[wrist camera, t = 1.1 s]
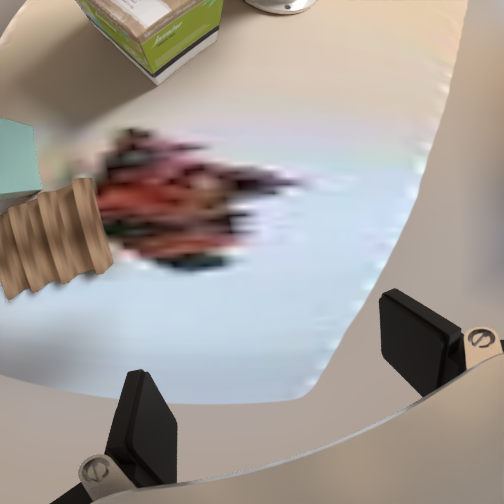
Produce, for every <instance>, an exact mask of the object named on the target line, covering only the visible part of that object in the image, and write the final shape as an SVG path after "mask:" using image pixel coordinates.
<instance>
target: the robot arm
mask: <svg viewBox="0 0 504 504" xmlns="http://www.w3.org/2000/svg"><path fill="white" fill-rule="evenodd" d="M244 1H246V2H247V3H248V4H250V5H252V6H254V7H256V8H258V9H261V10H263V11H267V12H271V13H277V14H296V13H300V12H303V11H306V10H307V9H309V8H311V7H312V6H313V5H314V4H315V2H316V1H317V0H244ZM379 309H380V329H381V352H382V355H383V357H384V359H385V360H386V361H387V362H388V363H389V364H390V365H391V366H392V367H393V368H394V369H395V370H396V371H397V372H398V373H400V375H401V376H402V377H403V378H404V379H405V380H406V381H407V382H408V383H409V384H410V385H411V386H412V387H413V388H414V389H415V390H416V391H417V392H418V393H419V394H420V395H421V396H422V397H423V398H421V399H420V400H418V401H416V402H415V403H413V404H411V405H409V406H408V407H406V408H404V409H402V410H400V411H398V412H397V413H395V414H393V415H391V416H389V417H387V418H385V419H383V420H381V421H379V422H377V423H375V424H373V425H371V426H369V427H366V428H364V429H362V430H360V431H358V432H356V433H353V434H351V435H349V436H346V437H344V438H342V439H339V440H337V441H334V442H332V443H330V444H327V445H324V446H322V447H319V448H316V449H314V450H311V451H308V452H305V453H302V454H299V455H296V456H293V457H290V458H287V459H284V460H281V461H277V462H274V463H270V464H267V465H264V466H260V467H256V468H252V469H248V470H244V471H240V472H235V473H231V474H226V475H221V476H216V477H211V478H206V479H200V480H194V481H188V482H182V483H177V422H176V419H175V417H174V416H173V414H172V412H171V411H170V409H169V407H168V406H167V404H166V402H165V400H164V399H163V397H162V395H161V393H160V392H159V390H158V388H157V386H156V385H155V383H154V381H153V379H152V377H151V375H150V374H149V372H144V371H143V370H142V369H139V370H135V371H130V372H128V373H127V376H126V379H125V383H124V386H123V389H122V392H121V396H120V399H119V403H118V406H117V409H116V411H115V415H114V418H113V422H112V426H111V430H110V433H109V437H108V441H107V445H106V449H105V453H104V454H97V455H93V456H91V457H89V458H87V459H86V460H85V461H84V462H83V463H82V464H81V466H80V468H79V471H78V476H79V479H80V481H81V482H80V483H79V484H77V485H76V486H75V487H73V488H72V489H70V490H69V491H68V492H66V493H65V494H63V495H62V496H60V497H59V498H58V499H56V500H55V501H53V502H52V503H50V504H504V340H500V339H499V336H498V334H497V332H496V331H494V330H493V329H491V328H489V327H482V326H481V327H480V326H479V327H474V328H472V329H470V330H468V331H467V332H466V333H465V335H464V334H462V333H461V328H460V327H458V326H456V325H455V324H453V323H452V322H450V321H449V320H447V319H445V318H444V317H442V316H440V315H439V314H437V313H435V312H434V311H432V310H431V309H429V308H428V307H426V306H424V305H423V304H421V303H419V302H418V301H416V300H414V299H413V298H411V297H409V296H408V295H406V294H404V293H403V292H401V291H399V290H398V289H395V288H394V289H391V290H389V291H387V292H384V293H383V294H382V297H381V298H380V299H379Z"/></svg>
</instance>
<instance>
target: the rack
mask: <svg viewBox="0 0 504 504" xmlns="http://www.w3.org/2000/svg"><path fill="white" fill-rule="evenodd" d="M71 182H72V185H69V186H67V187H64V188H62V189H59V190H57V191H50V192H42V193H40V194H37V199H35V200H33V201H30V202H28V203H25V204H19V205H14V206H11V207H9V208H8V212H6V213H4V214H2V215H0V280H1V283H2V286H3V288H4V291H5V294H6V296H7V299H8V300H9V299H12V298H13V297H15V296H16V295H17V294H19V293H20V292H22V291H23V290H24V289H28V288H31V290H32V292H37V291H39V290H40V289H41V288H42V287H44V286H45V285H46V284H48V283H49V282H52V281H55V280H59V279H60V280H61V282H62V284H66V283H69V282H70V281H71V280H72V279H73V278H74V277H76V276H77V275H78V274H80V273H84V272H87V271H91V270H95V271H96V274H97V275H99V274H103V273H104V272H105V271H106V270H107V269H108V268H109V267H110V266H111V265H112V264H113V263H114V262H113V258H112V255H111V252H110V249H109V245H108V242H107V238H106V235H105V231H104V228H103V224H102V220H101V216H100V213H99V209H98V205H97V200H96V196H95V192H94V187H93V183H92V178H77V179H74V180H72V181H71Z"/></svg>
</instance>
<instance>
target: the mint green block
mask: <svg viewBox="0 0 504 504" xmlns="http://www.w3.org/2000/svg"><path fill="white" fill-rule="evenodd" d="M40 190H42V185H41V179H40V174H39V168H38V162H37V155H36V148H35V141H34V132H33V126H29V125H26V124H22V123H19V122H15V121H11V120H8V119H4V118H0V200H5V199H12V198H19V197H26V196H28V195H31V194H33V193H35V192H37V191H40Z"/></svg>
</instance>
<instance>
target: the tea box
mask: <svg viewBox="0 0 504 504" xmlns="http://www.w3.org/2000/svg"><path fill="white" fill-rule="evenodd" d="M75 1H76V2H77V3H78V4H79V6H80V7H81V9H82V10H83V12H84V13H85V14H86V15H87V17H88V18H89V20H90V21H91V23H92V24H93V25H94V26H95V27H96V28H97V29H98V30H99V31H100V32H101V33H102V34H103V35H104V36H105V37H106V38H107V39H108V40H109V41H110V42H111V43H113V44H114V45H115V46H116V47H117V48H118V49H119V50H120V51H121V52H122V53H123V54H124V55H125V56H126V57H127V58H128V59H130V60H131V61H132V62H133V63H134V64H135V65H136V66H137V67H138V68H139V69H140V70H141V71H142V72H143V73H144V74H145V75H146V76H148V77H149V78H150V79H151V80H152V81H153V82H154V83H155V84H156V85H157V86H158V85H160V84H161V83H162V82H163V81H165V80H166V79H167V78H168V77H169V76H170V75H172V74H173V73H174V72H175V71H176V70H178V69H179V68H180V67H181V66H183V65H184V64H185V63H187V62H188V61H189V60H191V59H192V58H193V57H194V56H196V55H197V54H199V53H200V52H201V51H203V50H204V49H206V48H207V47H208V46H210V45H211V44H213V43H214V42H215V41H217V36H218V30H219V24H220V18H221V13H222V7H223V2H224V0H75Z"/></svg>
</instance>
